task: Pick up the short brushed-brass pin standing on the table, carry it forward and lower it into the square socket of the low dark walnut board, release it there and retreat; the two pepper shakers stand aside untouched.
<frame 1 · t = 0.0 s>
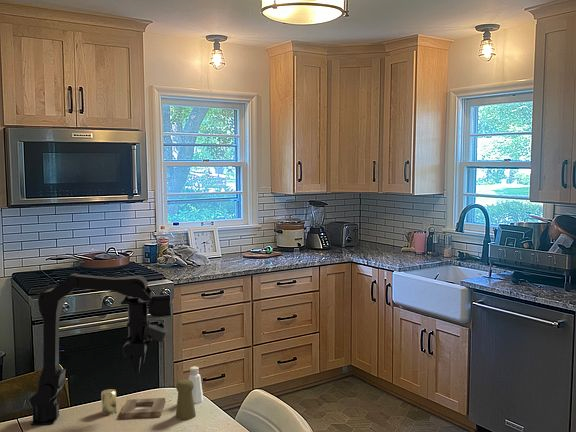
hand: (139, 368, 175), 15 cm above the table, fingers open, 9 cm apart
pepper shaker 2: (195, 401, 187), on the table
socket board: (143, 410, 180), on the table
pepper shaker: (185, 416, 175), on the table
brass pin: (109, 412, 179), on the table
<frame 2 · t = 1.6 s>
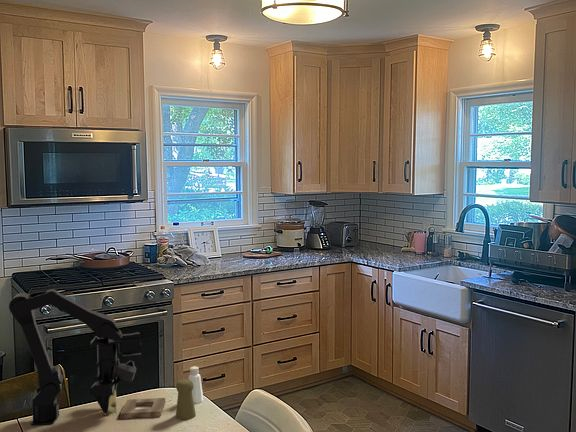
hand: (109, 406, 179), 2 cm above the table, fingers open, 9 cm apart
nothing on the table moved.
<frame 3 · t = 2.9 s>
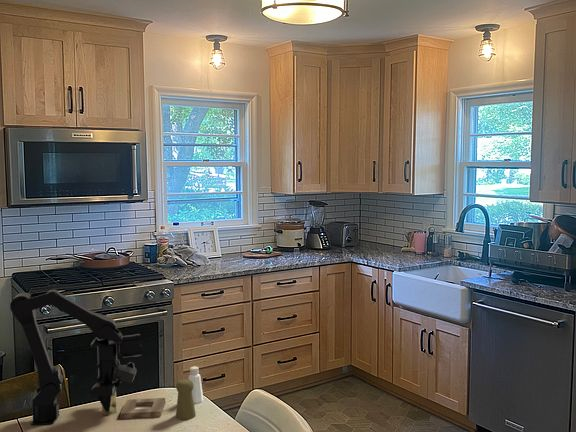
hand: (109, 408, 179), 1 cm above the table, fingers closed on brass pin, 4 cm apart
brass pin: (109, 412, 179), on the table, touching gripper
everything else where it was.
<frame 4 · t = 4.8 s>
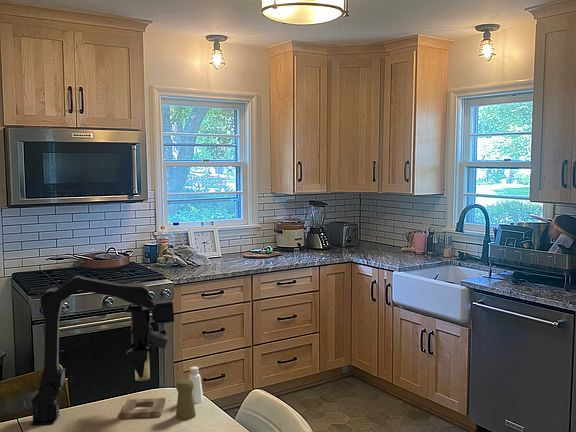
hand: (142, 374, 179), 11 cm above the table, fingers closed on brass pin, 4 cm apart
brass pin: (142, 378, 179), point 10 cm above the table, touching gripper
everything else where it was.
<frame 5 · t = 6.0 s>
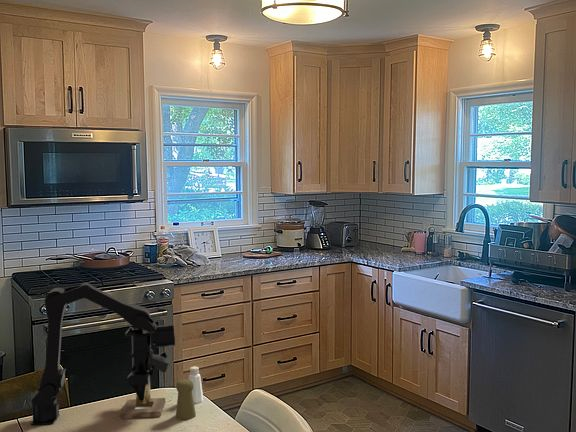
hand: (143, 397, 179), 4 cm above the table, fingers closed on brass pin, 4 cm apart
brass pin: (143, 401, 180), point 3 cm above the table, touching gripper
everything else where it was.
when the fingers open (3 cm above the table, at t = 7.1 s): brass pin drops 1 cm, resting on socket board.
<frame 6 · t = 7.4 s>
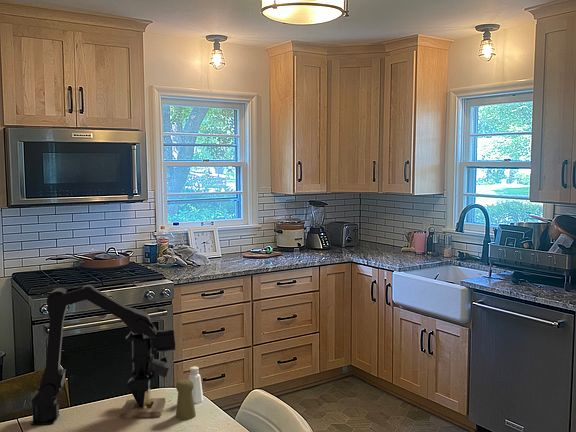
hand: (143, 402, 180), 3 cm above the table, fingers open, 8 cm apart
brass pin: (143, 409, 180), resting on socket board
everything else where it was.
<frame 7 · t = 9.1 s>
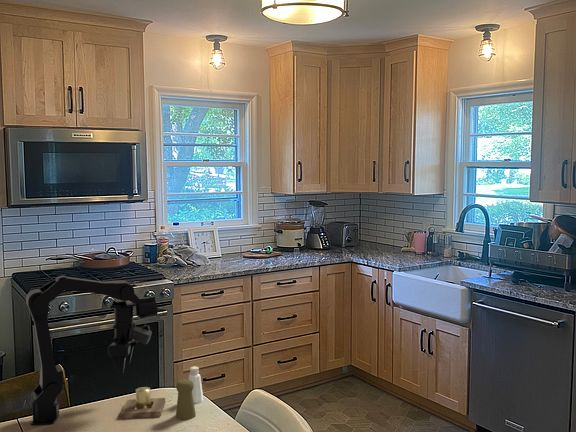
hand: (124, 368, 184), 12 cm above the table, fingers open, 9 cm apart
nothing on the table moved.
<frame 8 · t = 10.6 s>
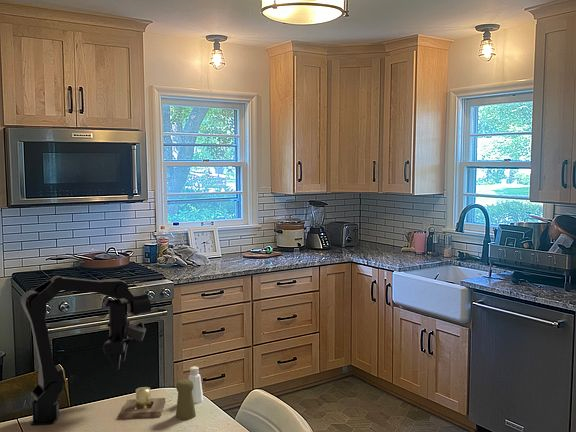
hand: (119, 365, 186), 12 cm above the table, fingers open, 9 cm apart
nothing on the table moved.
at the end: brass pin 0.0 cm off-centre on the socket board, point 0.2 cm above the socket board's base; brass pin tilted 0°; the gripper is holding nothing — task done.
